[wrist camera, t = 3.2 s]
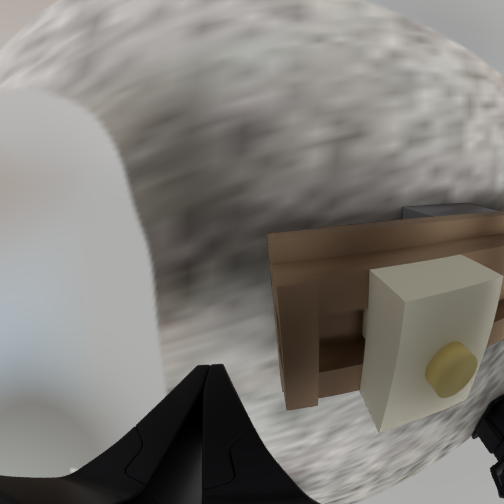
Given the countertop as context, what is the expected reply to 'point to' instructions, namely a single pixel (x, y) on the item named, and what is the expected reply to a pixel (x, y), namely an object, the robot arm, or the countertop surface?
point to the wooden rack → (360, 287)
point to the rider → (425, 336)
